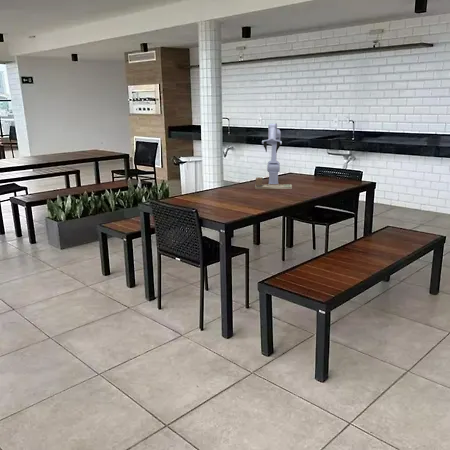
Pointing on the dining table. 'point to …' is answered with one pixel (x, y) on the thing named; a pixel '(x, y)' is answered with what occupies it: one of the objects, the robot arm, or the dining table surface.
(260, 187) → the birch board
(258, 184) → the eraser block
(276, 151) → the robot arm
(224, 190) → the dining table surface
